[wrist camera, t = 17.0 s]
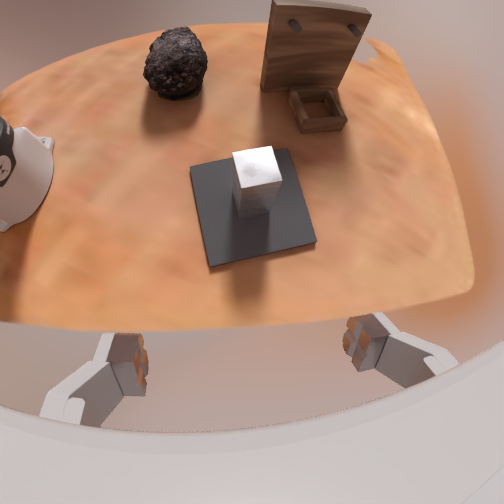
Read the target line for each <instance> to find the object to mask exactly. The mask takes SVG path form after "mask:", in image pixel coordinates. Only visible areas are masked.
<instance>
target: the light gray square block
mask: <svg viewBox="0 0 504 504" xmlns="http://www.w3.org/2000/svg"><path fill="white" fill-rule="evenodd" d="M282 181H283V180H282V177H281V174H280V171H279V168H278V165H277V161H276V158H275V155H274V152H273V149H272V146H268V147H262V148H256V149H250V150H244V151H239V152H233V153H232V192H233V196H234V200H235V204H236V208H237V212H238V216H239V220H240V219H245V218H249V217H254V216H259V215H263V214H268V213H270V211H271V208H272V206H273V203H274V201H275V198H276V196H277V193H278V191H279V188H280V186H281V183H282Z"/></svg>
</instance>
